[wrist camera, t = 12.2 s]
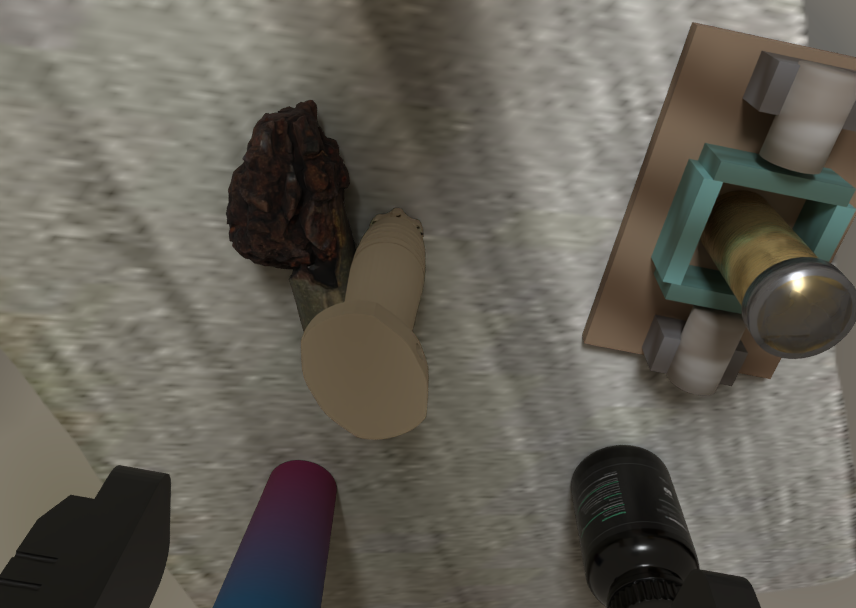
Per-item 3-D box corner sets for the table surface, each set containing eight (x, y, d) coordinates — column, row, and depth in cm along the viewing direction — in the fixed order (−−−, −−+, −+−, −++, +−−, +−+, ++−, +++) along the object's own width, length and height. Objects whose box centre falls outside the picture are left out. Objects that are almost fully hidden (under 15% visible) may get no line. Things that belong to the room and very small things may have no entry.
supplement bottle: (686, 486, 52) (739, 636, 42) (603, 527, 55) (634, 679, 44) (635, 425, 50) (679, 569, 40) (551, 470, 52) (571, 617, 42)
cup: (345, 525, 56) (306, 719, 43) (255, 512, 56) (189, 704, 43) (353, 457, 53) (313, 646, 40) (257, 443, 53) (187, 629, 40)
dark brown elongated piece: (396, 359, 49) (387, 413, 44) (298, 369, 50) (278, 423, 45) (337, 90, 40) (317, 121, 35) (219, 108, 41) (183, 140, 36)
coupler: (710, 177, 40) (776, 260, 31) (791, 193, 40) (879, 280, 32) (680, 251, 42) (733, 348, 34) (757, 267, 43) (829, 367, 34)
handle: (412, 168, 42) (386, 298, 29) (455, 263, 45) (447, 421, 32) (336, 198, 43) (277, 336, 30) (382, 288, 46) (346, 451, 33)
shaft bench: (692, 22, 37) (721, 40, 33) (918, 70, 38) (976, 95, 33) (582, 334, 47) (593, 381, 42) (764, 369, 47) (794, 419, 43)
